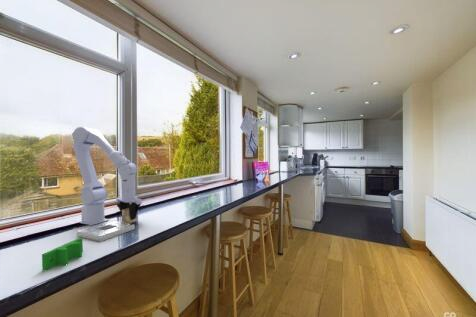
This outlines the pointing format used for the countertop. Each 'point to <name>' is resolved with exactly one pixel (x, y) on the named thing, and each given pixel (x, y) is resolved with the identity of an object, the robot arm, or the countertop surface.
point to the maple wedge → (126, 216)
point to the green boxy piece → (62, 254)
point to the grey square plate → (105, 230)
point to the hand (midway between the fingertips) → (129, 218)
